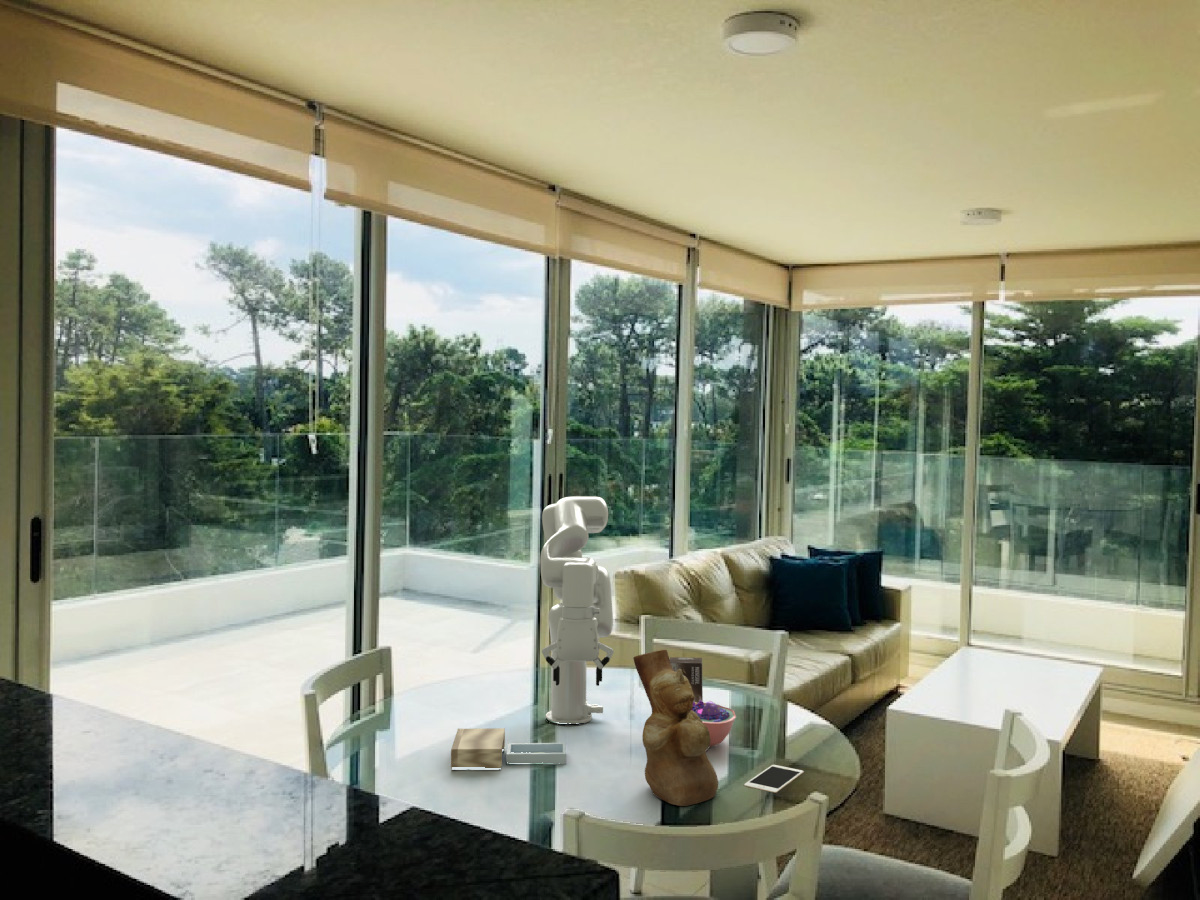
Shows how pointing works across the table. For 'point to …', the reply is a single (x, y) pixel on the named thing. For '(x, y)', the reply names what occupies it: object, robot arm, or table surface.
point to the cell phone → (773, 778)
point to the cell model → (715, 720)
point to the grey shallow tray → (551, 755)
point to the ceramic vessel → (674, 735)
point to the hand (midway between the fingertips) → (577, 684)
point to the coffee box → (690, 673)
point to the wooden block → (478, 748)
